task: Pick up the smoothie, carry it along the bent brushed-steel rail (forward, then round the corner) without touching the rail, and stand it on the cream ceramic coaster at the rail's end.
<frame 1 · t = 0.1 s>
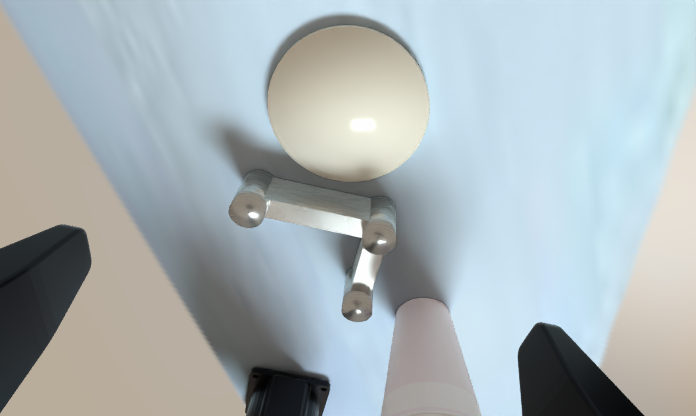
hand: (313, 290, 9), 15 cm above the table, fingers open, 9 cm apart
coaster: (348, 109, 22), on the table
smoothie: (422, 314, 30), on the table
steel rail: (380, 209, 25), on the table
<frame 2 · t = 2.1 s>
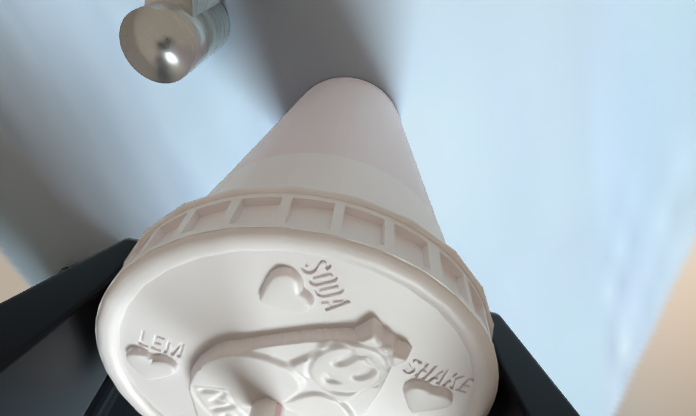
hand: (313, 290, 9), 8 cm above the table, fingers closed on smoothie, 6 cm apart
smoothie: (346, 128, 15), on the table, touching gripper
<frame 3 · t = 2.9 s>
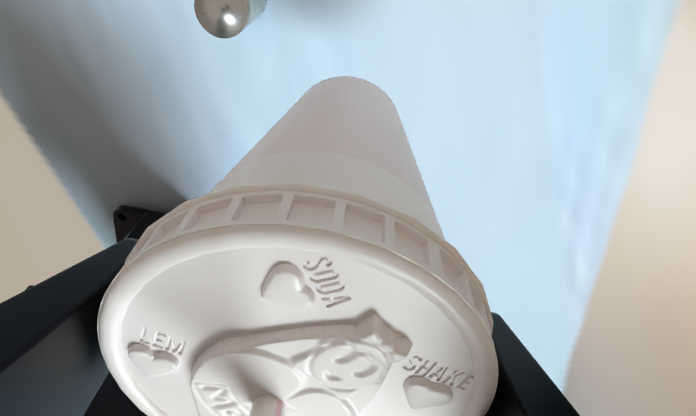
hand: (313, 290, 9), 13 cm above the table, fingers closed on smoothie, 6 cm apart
smoothie: (346, 127, 15), point 5 cm above the table, touching gripper
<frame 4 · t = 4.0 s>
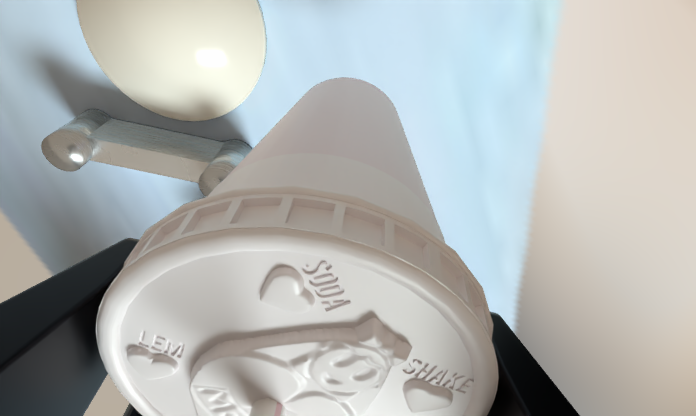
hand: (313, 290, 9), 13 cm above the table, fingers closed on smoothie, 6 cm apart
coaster: (175, 31, 19), on the table
smoothie: (346, 128, 15), point 5 cm above the table, touching gripper
steel rail: (237, 155, 22), on the table
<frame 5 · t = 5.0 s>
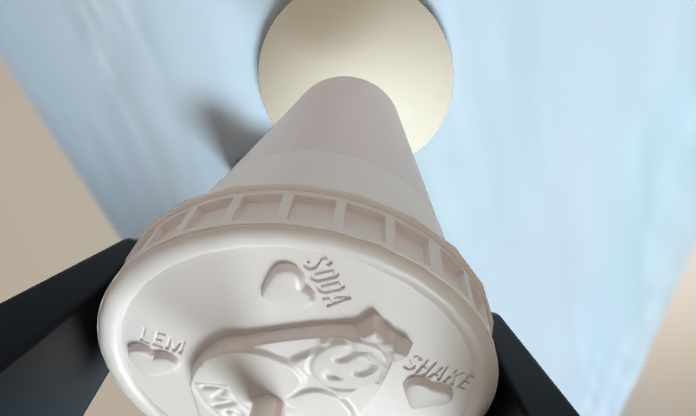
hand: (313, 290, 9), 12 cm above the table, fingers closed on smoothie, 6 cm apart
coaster: (355, 83, 18), on the table
smoothie: (346, 127, 15), point 4 cm above the table, touching gripper
when the fingers open (9 cm above the table, at t = 5.9 s): smoothie drops 1 cm, resting on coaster.
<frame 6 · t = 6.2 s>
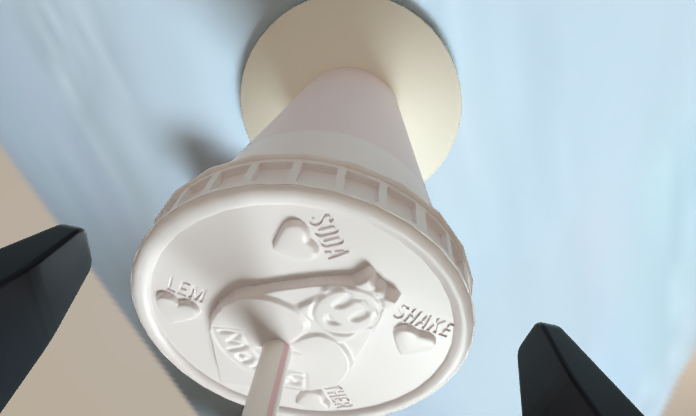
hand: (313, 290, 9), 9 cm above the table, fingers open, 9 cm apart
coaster: (350, 111, 16), on the table
smoothie: (349, 115, 16), resting on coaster
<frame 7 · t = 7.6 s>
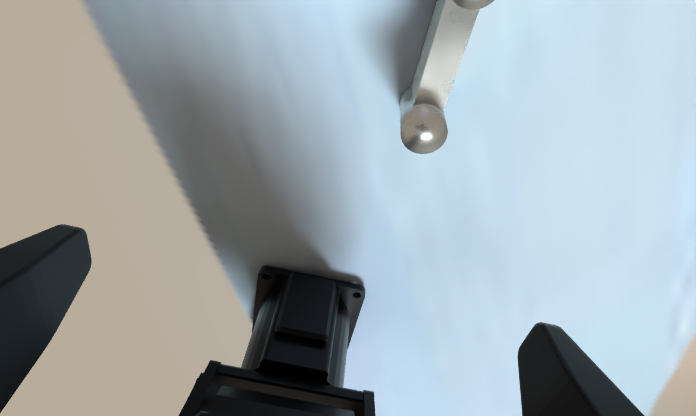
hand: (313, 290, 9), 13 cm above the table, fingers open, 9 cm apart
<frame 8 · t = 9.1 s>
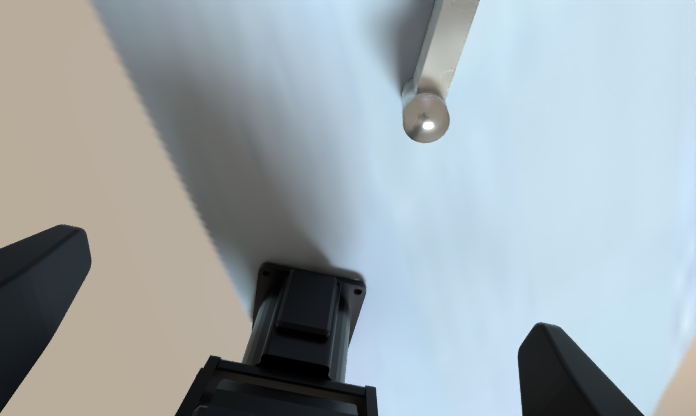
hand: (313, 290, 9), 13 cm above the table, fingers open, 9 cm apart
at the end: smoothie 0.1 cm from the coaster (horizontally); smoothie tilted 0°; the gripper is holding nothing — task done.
